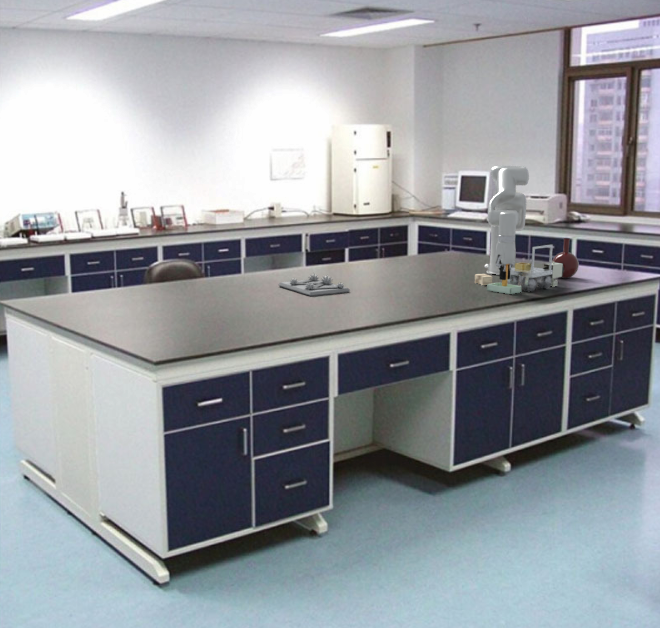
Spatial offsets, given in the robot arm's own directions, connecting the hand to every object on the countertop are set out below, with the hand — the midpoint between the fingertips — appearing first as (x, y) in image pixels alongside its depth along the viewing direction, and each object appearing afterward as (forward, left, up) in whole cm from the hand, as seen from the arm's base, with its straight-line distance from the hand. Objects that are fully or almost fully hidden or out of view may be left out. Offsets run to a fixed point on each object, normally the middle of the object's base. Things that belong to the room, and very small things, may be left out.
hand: (504, 279), depth 403 cm
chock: (-19, +9, -6) cm, 22 cm away
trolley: (+2, +15, -6) cm, 16 cm away
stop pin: (0, 0, -3) cm, 3 cm away
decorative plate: (-60, -63, -7) cm, 88 cm away
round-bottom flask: (-4, +55, -6) cm, 55 cm away
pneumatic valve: (+6, +29, -6) cm, 30 cm away
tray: (0, 0, -6) cm, 6 cm away
